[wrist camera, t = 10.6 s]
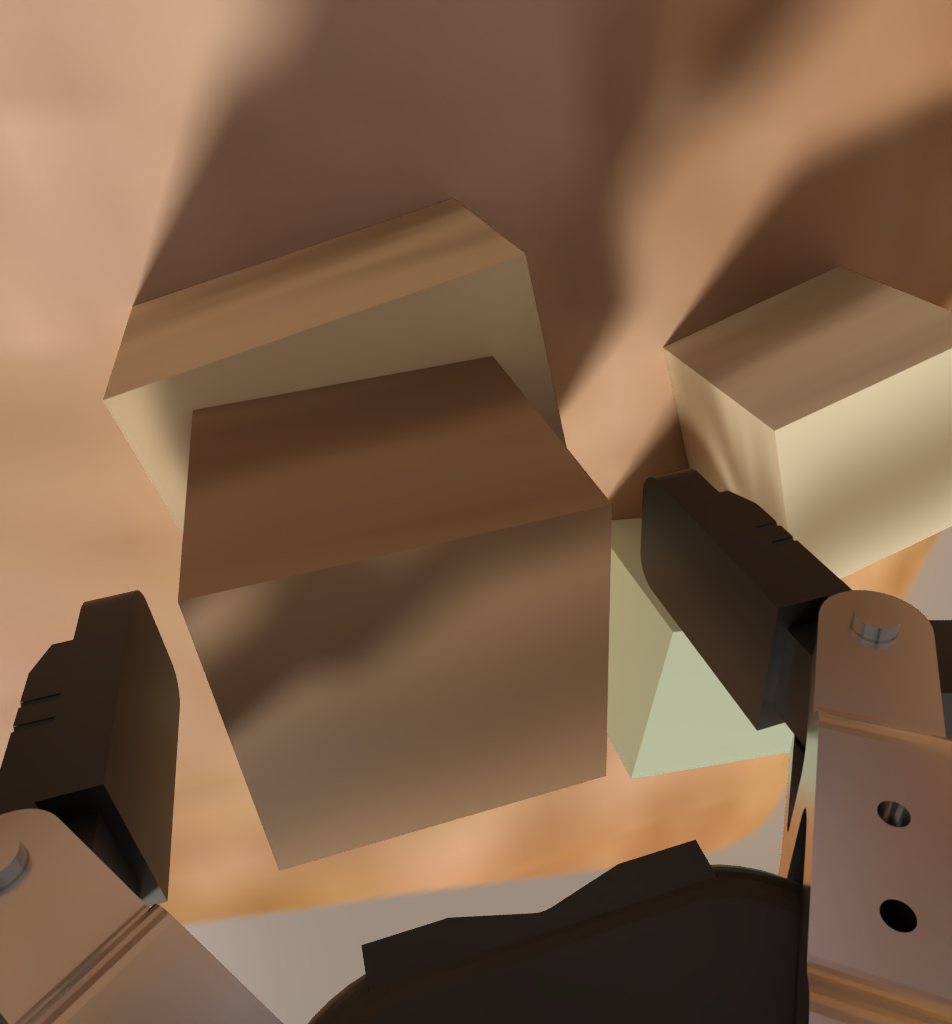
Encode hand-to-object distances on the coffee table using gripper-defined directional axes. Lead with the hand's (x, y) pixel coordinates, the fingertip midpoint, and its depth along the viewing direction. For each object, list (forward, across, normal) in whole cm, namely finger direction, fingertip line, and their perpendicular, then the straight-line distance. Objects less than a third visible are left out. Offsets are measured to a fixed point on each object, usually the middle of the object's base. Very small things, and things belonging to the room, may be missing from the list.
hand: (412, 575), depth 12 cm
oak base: (+7, 0, 0) cm, 7 cm away
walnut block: (+2, 0, 0) cm, 2 cm away
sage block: (+7, -8, +8) cm, 13 cm away
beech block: (+7, -11, +2) cm, 13 cm away
